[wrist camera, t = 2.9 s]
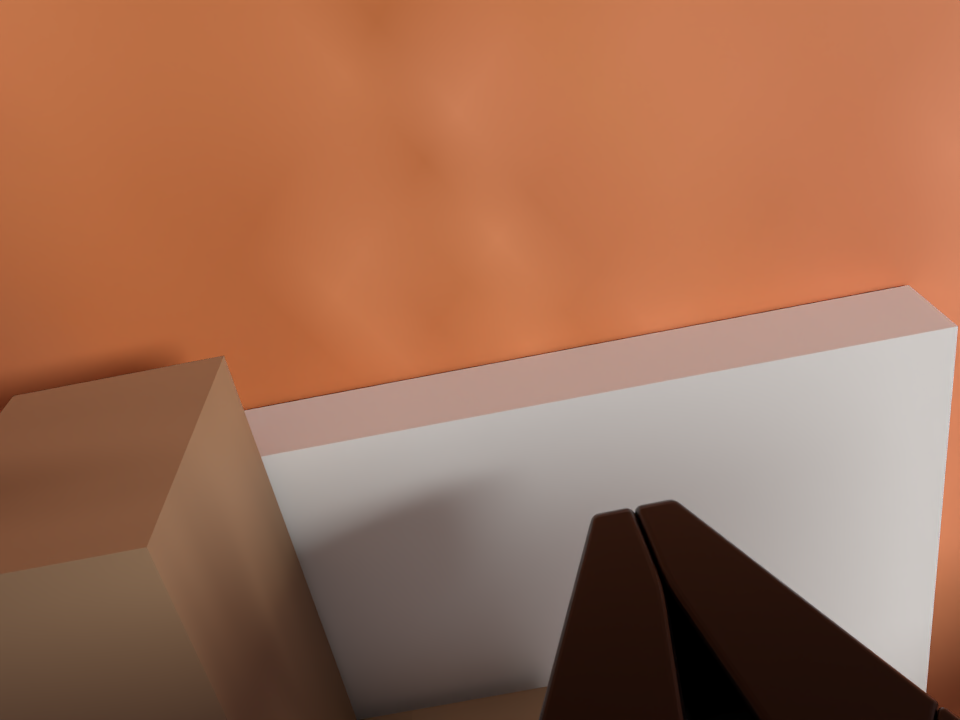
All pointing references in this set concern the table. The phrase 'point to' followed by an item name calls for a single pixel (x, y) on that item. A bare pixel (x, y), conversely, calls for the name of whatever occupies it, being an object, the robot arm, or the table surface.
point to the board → (618, 487)
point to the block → (161, 564)
